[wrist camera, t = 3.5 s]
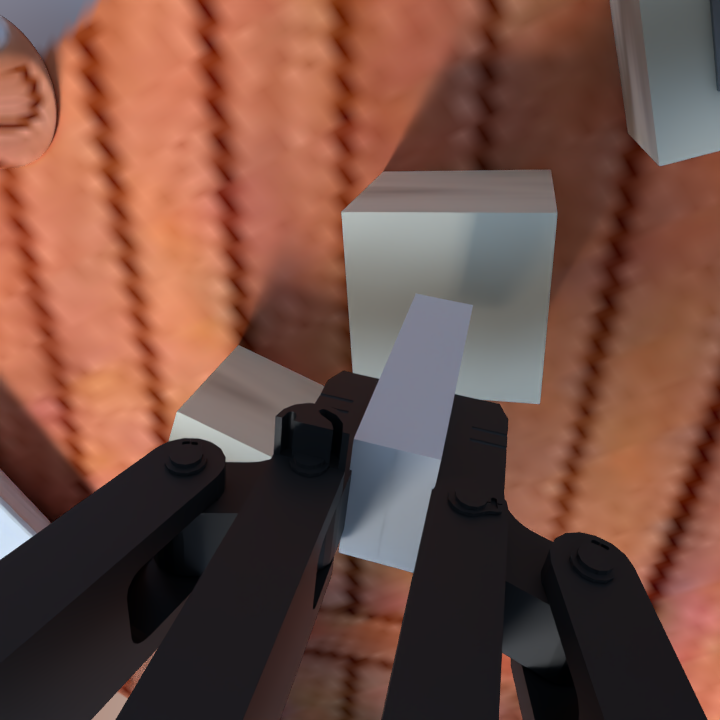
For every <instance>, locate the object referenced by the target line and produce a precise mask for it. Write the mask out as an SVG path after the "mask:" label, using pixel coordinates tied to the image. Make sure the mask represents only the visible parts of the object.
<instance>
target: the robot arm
mask: <svg viewBox="0 0 720 720" xmlns="http://www.w3.org/2000/svg"><path fill="white" fill-rule="evenodd" d="M472 308H473V305H470V304H465V303H460V302H455V301H450V300H445V299H440V298H435V297H430V296H425V295H420V294H415V297H414V299H413V301H412V304H411V306H410V308H409V311H408V313H407V315H406V318H405V320H404V322H403V325H402V327H401V329H400V332H399V334H398V337H397V339H396V341H395V344H394V346H393V348H392V351H391V353H390V355H389V358H388V360H387V362H386V365H385V367H384V369H383V372H382V374H381V376H380V379H378V378H373V377H369V376H365V375H360V374H356V373H351V372H347V371H342V372H341V373H339V374H337V375H336V376H334V377H332V378H331V379H329V380H328V381H327V383H326V385H325V387H324V388H323V390H322V392H321V395H319V397H318V399H317V401H316V402H315V403H303V404H295V405H292V406H290V407H287V408H285V409H283V410H282V411H281V412H280V413H278V414H277V415H276V416H275V435H274V454H273V456H272V457H271V459H268V460H264V461H260V462H226V457H225V455H224V453H223V451H222V450H221V448H219V447H218V446H217V445H215V444H214V443H212V442H210V441H206V440H203V439H199V438H182V439H177V440H172V441H169V442H167V443H165V444H163V445H161V446H159V447H157V448H155V449H154V450H153V451H151V452H150V453H149V454H147V455H146V456H144V457H143V458H142V459H140V460H139V461H137V462H136V463H135V464H133V465H132V466H130V467H129V468H128V469H126V470H125V471H123V472H122V473H121V474H119V475H118V476H116V477H115V478H114V479H112V480H111V481H109V482H108V483H107V484H105V485H104V486H102V487H101V488H100V489H98V490H97V491H95V492H94V493H93V494H91V495H90V496H88V497H87V498H86V499H84V500H83V501H82V502H80V503H79V504H77V505H76V506H75V507H73V508H72V509H70V510H69V511H68V512H66V513H65V514H63V515H62V516H61V517H59V518H58V519H56V520H55V521H54V522H52V523H51V524H49V525H48V526H47V527H45V528H44V529H42V530H41V531H40V532H38V533H37V534H35V535H34V536H33V537H31V538H30V539H28V540H27V541H26V542H24V543H23V544H21V545H20V546H19V547H17V548H16V549H15V550H13V551H12V552H10V553H9V554H8V555H6V556H5V557H3V558H2V559H1V560H0V720H91V719H92V718H93V717H94V716H95V715H96V714H97V713H98V712H99V711H100V710H101V709H102V708H103V707H104V705H105V704H106V703H107V702H108V701H109V700H110V699H111V698H112V697H113V696H114V694H116V693H117V691H118V690H119V689H120V688H121V687H122V686H123V685H124V684H125V683H126V682H127V681H128V680H129V679H130V677H131V676H132V675H133V674H134V673H135V672H136V671H137V670H138V669H139V668H140V667H141V666H142V664H143V663H144V662H145V661H146V660H147V659H148V658H149V657H150V656H151V655H152V654H153V653H154V652H155V650H156V649H157V648H158V647H159V648H158V649H157V651H156V653H155V654H154V656H153V658H152V659H151V661H150V663H149V664H148V666H147V668H146V669H145V671H144V673H143V674H142V676H141V678H140V680H139V681H138V683H137V685H136V686H135V688H134V690H133V691H132V693H131V695H130V696H129V698H128V700H127V701H126V703H125V705H124V706H123V708H122V710H121V711H120V713H119V715H118V717H117V718H116V720H280V718H281V715H282V712H283V710H284V707H285V704H286V701H287V698H288V696H289V693H290V690H291V687H292V684H293V682H294V679H295V676H296V673H297V670H298V668H299V665H300V662H301V659H302V657H303V654H304V651H305V648H306V645H307V643H308V640H309V637H310V634H311V631H312V629H313V626H314V623H315V620H316V617H317V615H318V612H319V609H320V606H321V603H322V601H323V598H324V595H325V592H326V589H327V587H328V584H329V581H330V578H331V575H332V568H333V561H334V555H335V552H336V550H337V547H338V544H339V541H340V546H339V553H342V554H346V555H350V556H353V557H357V558H361V559H364V560H368V561H372V562H375V563H379V564H383V565H387V566H390V567H394V568H398V569H401V570H405V571H409V572H412V573H413V577H412V581H411V586H410V590H409V595H408V599H407V604H406V608H405V613H404V617H403V621H402V627H401V631H400V636H399V641H398V645H397V650H396V654H395V659H394V663H393V668H392V673H391V677H390V682H389V686H388V691H387V696H386V700H385V705H384V709H383V714H382V718H381V720H499V702H500V682H501V662H502V653H504V654H505V655H507V656H509V657H510V658H511V669H512V673H513V678H514V682H515V687H516V691H517V696H518V700H519V705H520V709H521V714H522V718H523V720H707V718H706V716H705V714H704V711H703V709H702V707H701V705H700V703H699V701H698V699H697V697H696V695H695V693H694V691H693V689H692V687H691V684H690V682H689V680H688V678H687V676H686V674H685V672H684V670H683V668H682V666H681V664H680V662H679V660H678V657H677V655H676V653H675V651H674V649H673V647H672V645H671V643H670V641H669V639H668V637H667V635H666V632H665V630H664V628H663V626H662V624H661V622H660V620H659V618H658V616H657V614H656V612H655V610H654V608H653V605H652V603H651V601H650V599H649V597H648V595H647V593H646V591H645V589H644V587H643V585H642V583H641V581H640V578H639V576H638V574H637V572H636V570H635V568H634V567H633V565H632V564H631V562H630V561H629V559H628V558H627V557H626V555H625V554H624V553H622V552H621V551H620V550H619V549H618V548H616V547H615V546H614V545H613V544H611V543H609V542H607V541H605V540H603V539H601V538H599V537H597V536H594V535H589V534H585V533H580V532H577V533H565V534H563V535H561V536H559V537H558V538H556V539H555V540H554V542H552V541H550V540H548V539H546V538H544V537H542V536H540V535H538V534H536V533H534V532H532V531H531V530H529V529H528V528H526V527H524V526H523V525H522V524H521V523H520V522H519V521H517V520H516V519H515V518H514V516H513V515H512V514H511V513H510V511H509V510H508V506H507V502H506V500H505V498H504V485H505V468H506V447H507V432H508V418H507V416H506V415H505V413H504V411H503V409H502V408H501V406H500V404H497V403H492V402H488V401H483V400H479V399H474V398H470V397H466V396H461V395H457V394H455V390H456V386H457V381H458V376H459V371H460V366H461V361H462V356H463V352H464V347H465V342H466V337H467V332H468V327H469V322H470V318H471V313H472Z"/></svg>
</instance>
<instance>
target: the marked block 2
mask: <svg viewBox="0 0 720 720" xmlns="http://www.w3.org/2000/svg"><path fill="white" fill-rule="evenodd" d="M609 1H610V8H611V15H612V22H613V30H614V37H615V44H616V51H617V58H618V65H619V73H620V80H621V87H622V94H623V101H624V109H625V116H626V123H627V130H628V134H629V135H630V136H631V137H632V138H633V139H634V140H635V141H636V142H637V143H638V144H639V145H640V146H641V147H642V149H643V150H644V151H645V152H646V153H647V154H648V155H649V156H650V157H651V158H652V159H653V160H654V161H655V162H656V163H657V164H658V165H659V166H663V165H667V164H671V163H675V162H679V161H682V160H686V159H690V158H694V157H698V156H702V155H705V154H709V153H713V152H717V151H720V0H609Z"/></svg>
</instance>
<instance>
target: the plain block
mask: <svg viewBox="0 0 720 720" xmlns="http://www.w3.org/2000/svg"><path fill="white" fill-rule="evenodd" d="M341 213H342V227H343V241H344V255H345V269H346V283H347V297H348V311H349V325H350V339H351V354H352V368H353V373H356V374H360V375H365V376H369V377H373V378H378V379H380V376H381V374H382V372H383V369H384V367H385V365H386V362H387V360H388V358H389V355H390V353H391V351H392V348H393V346H394V344H395V341H396V339H397V337H398V334H399V332H400V329H401V327H402V325H403V322H404V320H405V318H406V315H407V313H408V311H409V308H410V306H411V304H412V301H413V299H414V297H415V294H420V295H425V296H430V297H435V298H440V299H445V300H450V301H455V302H460V303H465V304H470V305H473V308H472V313H471V318H470V322H469V327H468V332H467V337H466V342H465V347H464V352H463V356H462V361H461V366H460V371H459V376H458V381H457V386H456V390H455V394H457V395H461V396H466V397H470V398H474V399H479V400H492V401H505V402H519V403H532V404H540V397H541V386H542V376H543V365H544V354H545V343H546V332H547V321H548V311H549V300H550V289H551V278H552V267H553V256H554V245H555V235H556V224H557V206H556V200H555V193H554V186H553V180H552V173H551V170H467V171H384V172H382V173H381V174H380V175H379V176H378V177H377V178H376V179H375V180H374V181H373V182H372V183H371V184H370V185H369V186H368V187H367V188H366V189H365V190H364V191H363V192H362V193H360V194H359V195H358V196H357V197H356V198H355V199H354V200H353V201H352V202H351V203H350V204H349V205H348V206H347V207H346V208H345V209H344V210H343V211H342V212H341Z"/></svg>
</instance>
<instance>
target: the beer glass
mask: <svg viewBox="0 0 720 720" xmlns="http://www.w3.org/2000/svg"><path fill="white" fill-rule="evenodd" d="M56 120H57V106H56V98H55V93H54V88H53V85H52V82H51V78H50V76H49V73H48V71H47V69H46V66H45V64H44V62H43V60H42V59H41V57H40V55H39V53H38V52H37V50H36V49H35V47H34V46H33V45H32V43H31V42H30V41H29V40H28V38H27V37H26V36H25V35H24V34H23V33H22V32H21V31H20V30H19V29H18V28H17V27H16V26H15V25H14V24H12V23H11V22H10V21H9V20H7V19H6V18H4V17H3V16H1V15H0V169H13V168H19V167H23V166H26V165H28V164H30V163H32V162H34V161H35V160H37V159H38V158H39V157H41V156H42V155H43V154H44V152H45V151H46V150H47V148H48V147H49V145H50V143H51V141H52V139H53V136H54V132H55V128H56Z"/></svg>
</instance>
